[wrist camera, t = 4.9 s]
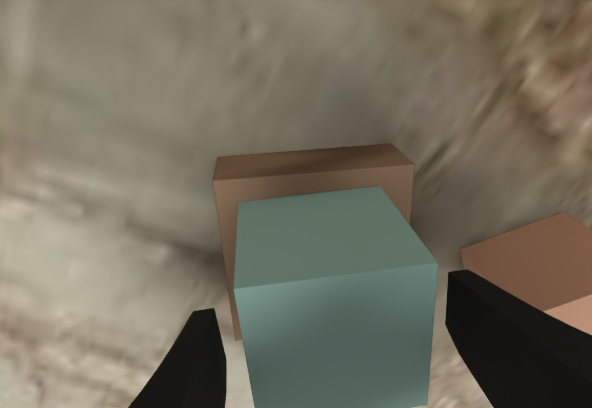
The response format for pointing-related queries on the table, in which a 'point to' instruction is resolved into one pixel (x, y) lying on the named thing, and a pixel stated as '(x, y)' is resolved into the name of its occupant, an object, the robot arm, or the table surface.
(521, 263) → the terracotta cube
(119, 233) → the table surface
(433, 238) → the table surface
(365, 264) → the teal cube
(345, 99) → the table surface
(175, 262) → the table surface
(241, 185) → the walnut block
